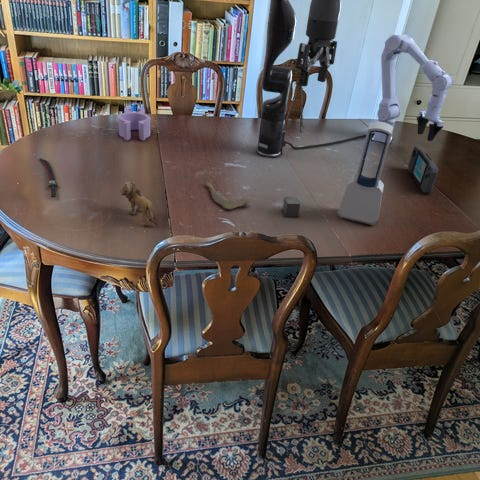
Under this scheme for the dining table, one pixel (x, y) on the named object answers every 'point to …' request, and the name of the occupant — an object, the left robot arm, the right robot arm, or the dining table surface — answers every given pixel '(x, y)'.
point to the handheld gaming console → (423, 169)
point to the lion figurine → (137, 201)
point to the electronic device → (366, 184)
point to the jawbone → (223, 201)
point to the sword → (52, 181)
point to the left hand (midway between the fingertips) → (312, 83)
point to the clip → (134, 123)
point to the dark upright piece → (297, 100)
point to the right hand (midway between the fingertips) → (424, 137)
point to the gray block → (291, 206)
